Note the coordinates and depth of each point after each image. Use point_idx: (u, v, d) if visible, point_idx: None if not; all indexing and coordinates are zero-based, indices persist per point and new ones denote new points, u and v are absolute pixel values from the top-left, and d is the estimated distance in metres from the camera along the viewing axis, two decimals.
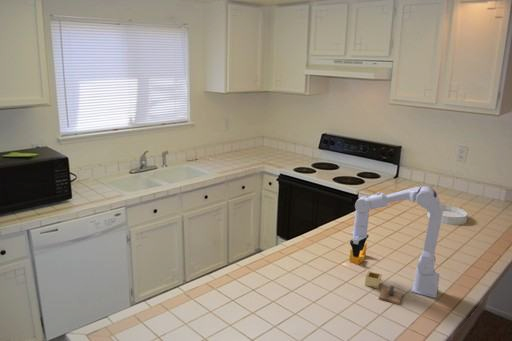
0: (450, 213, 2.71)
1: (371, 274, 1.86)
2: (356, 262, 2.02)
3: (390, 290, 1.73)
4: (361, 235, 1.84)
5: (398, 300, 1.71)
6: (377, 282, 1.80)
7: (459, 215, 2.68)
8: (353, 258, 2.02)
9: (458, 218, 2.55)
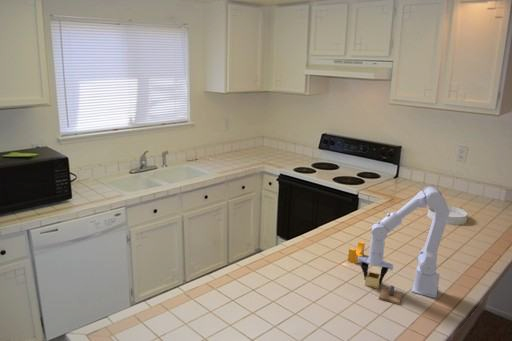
0: (450, 213, 2.71)
1: (371, 274, 1.86)
2: (355, 261, 2.02)
3: (390, 290, 1.73)
4: (368, 260, 1.82)
5: (398, 300, 1.71)
6: (377, 282, 1.80)
7: (459, 215, 2.68)
8: (352, 257, 2.03)
9: (458, 218, 2.55)
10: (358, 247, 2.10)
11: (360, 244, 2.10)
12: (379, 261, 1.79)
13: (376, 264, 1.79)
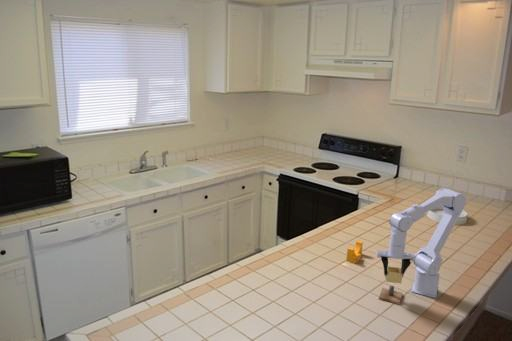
0: None
1: (389, 269, 1.74)
2: (353, 261, 2.03)
3: (390, 290, 1.73)
4: (389, 253, 1.69)
5: (398, 300, 1.71)
6: (400, 277, 1.69)
7: None
8: (350, 257, 2.03)
9: (458, 218, 2.55)
10: (356, 246, 2.11)
11: (358, 243, 2.10)
12: (402, 253, 1.67)
13: (399, 257, 1.67)
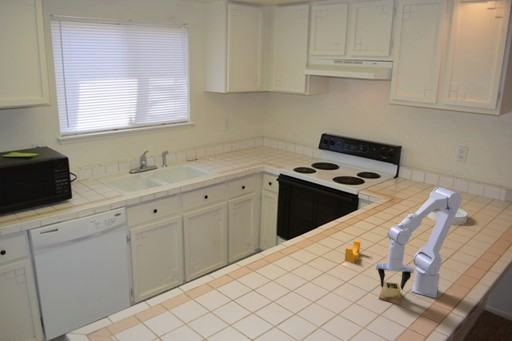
0: None
1: (387, 284, 1.76)
2: (351, 260, 2.03)
3: None
4: (388, 266, 1.70)
5: (398, 300, 1.71)
6: (398, 292, 1.71)
7: (459, 215, 2.68)
8: (348, 256, 2.04)
9: (458, 218, 2.55)
10: (354, 246, 2.11)
11: (356, 243, 2.11)
12: (400, 266, 1.69)
13: (398, 269, 1.68)
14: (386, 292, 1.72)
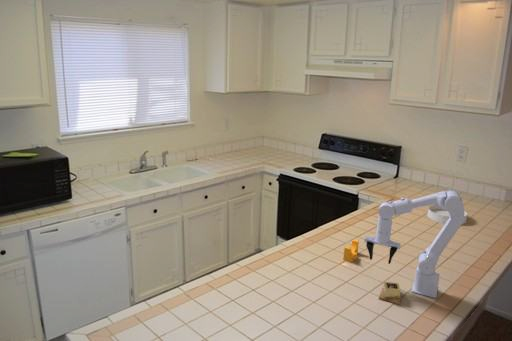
0: None
1: (387, 284, 1.76)
2: (350, 260, 2.04)
3: None
4: (375, 239, 1.81)
5: (398, 300, 1.71)
6: (398, 292, 1.71)
7: None
8: (347, 256, 2.04)
9: None
10: (352, 245, 2.12)
11: (354, 242, 2.12)
12: (386, 240, 1.79)
13: (383, 243, 1.79)
14: (386, 292, 1.72)
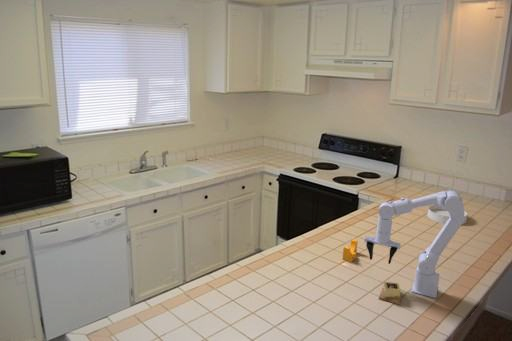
0: None
1: (387, 284, 1.76)
2: (349, 260, 2.04)
3: None
4: (375, 239, 1.81)
5: (398, 300, 1.71)
6: (398, 292, 1.71)
7: None
8: (346, 256, 2.04)
9: None
10: (351, 245, 2.12)
11: (353, 242, 2.12)
12: (386, 240, 1.79)
13: (383, 243, 1.79)
14: (386, 292, 1.72)
